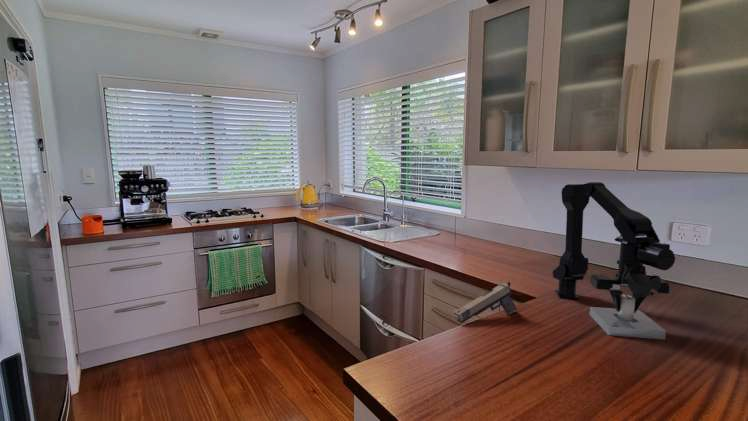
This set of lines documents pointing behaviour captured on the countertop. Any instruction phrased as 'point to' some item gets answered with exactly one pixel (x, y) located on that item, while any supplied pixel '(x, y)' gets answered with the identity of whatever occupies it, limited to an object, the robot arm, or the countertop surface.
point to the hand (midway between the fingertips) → (625, 311)
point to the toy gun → (488, 303)
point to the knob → (627, 307)
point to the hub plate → (627, 324)
